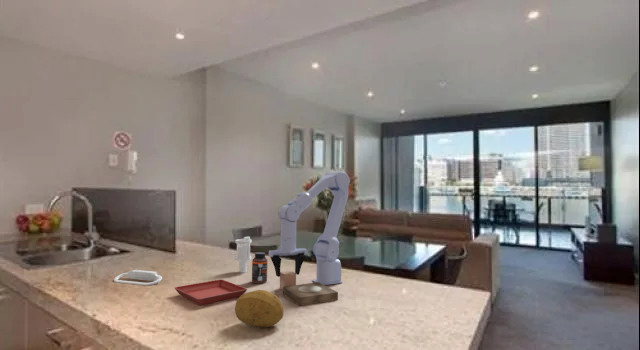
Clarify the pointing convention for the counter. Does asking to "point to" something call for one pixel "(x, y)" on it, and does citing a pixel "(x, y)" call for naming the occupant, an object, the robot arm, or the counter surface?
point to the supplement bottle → (259, 268)
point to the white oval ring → (140, 277)
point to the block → (287, 279)
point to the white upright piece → (243, 253)
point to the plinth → (310, 293)
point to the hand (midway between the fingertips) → (287, 275)
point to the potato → (259, 309)
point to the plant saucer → (211, 292)
